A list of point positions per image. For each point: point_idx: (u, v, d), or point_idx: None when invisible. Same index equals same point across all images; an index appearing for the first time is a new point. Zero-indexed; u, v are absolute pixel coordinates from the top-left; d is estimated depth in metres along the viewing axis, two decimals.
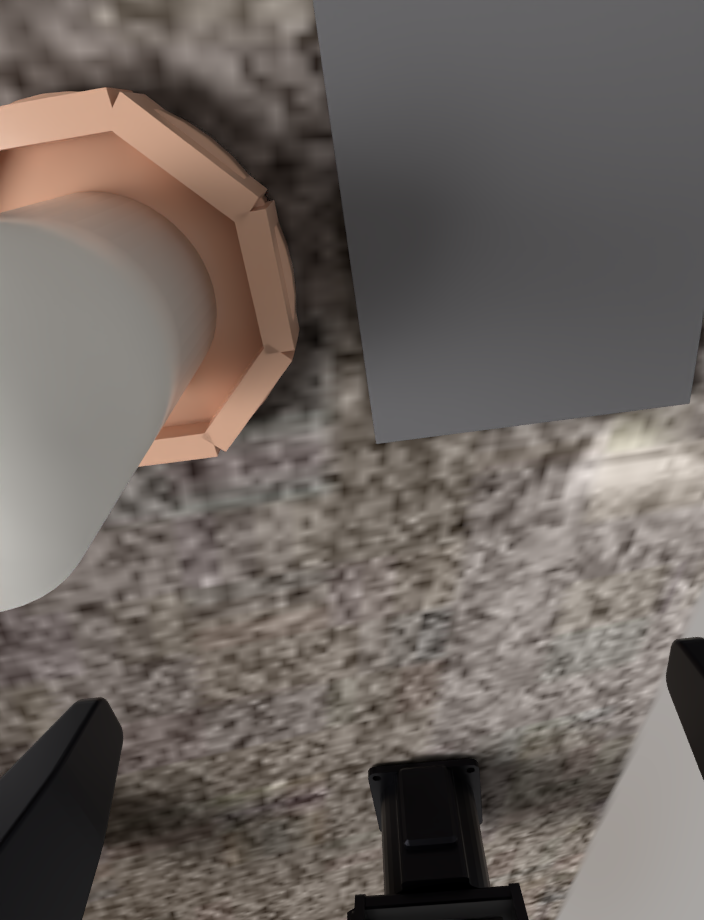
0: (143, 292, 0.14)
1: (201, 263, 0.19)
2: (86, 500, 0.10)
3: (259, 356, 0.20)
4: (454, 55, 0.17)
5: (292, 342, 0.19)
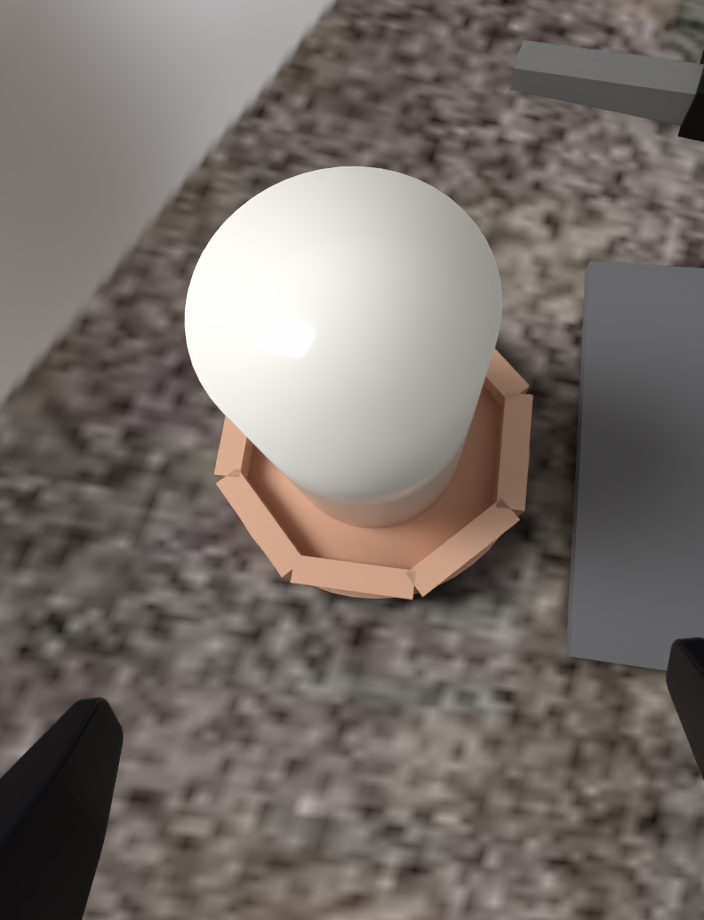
0: None
1: None
2: (482, 360, 0.12)
3: (490, 507, 0.21)
4: (684, 351, 0.23)
5: (524, 503, 0.21)
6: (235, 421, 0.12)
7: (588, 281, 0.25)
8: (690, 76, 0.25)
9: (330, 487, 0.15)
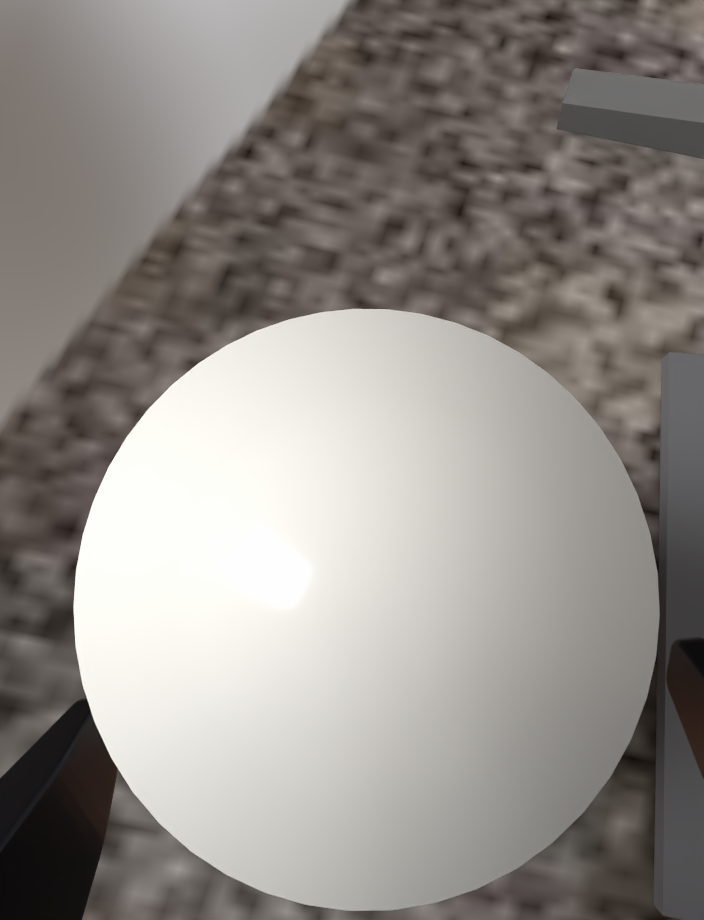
0: None
1: None
2: (626, 710, 0.06)
3: None
4: None
5: None
6: (155, 815, 0.06)
7: (668, 378, 0.19)
8: None
9: None
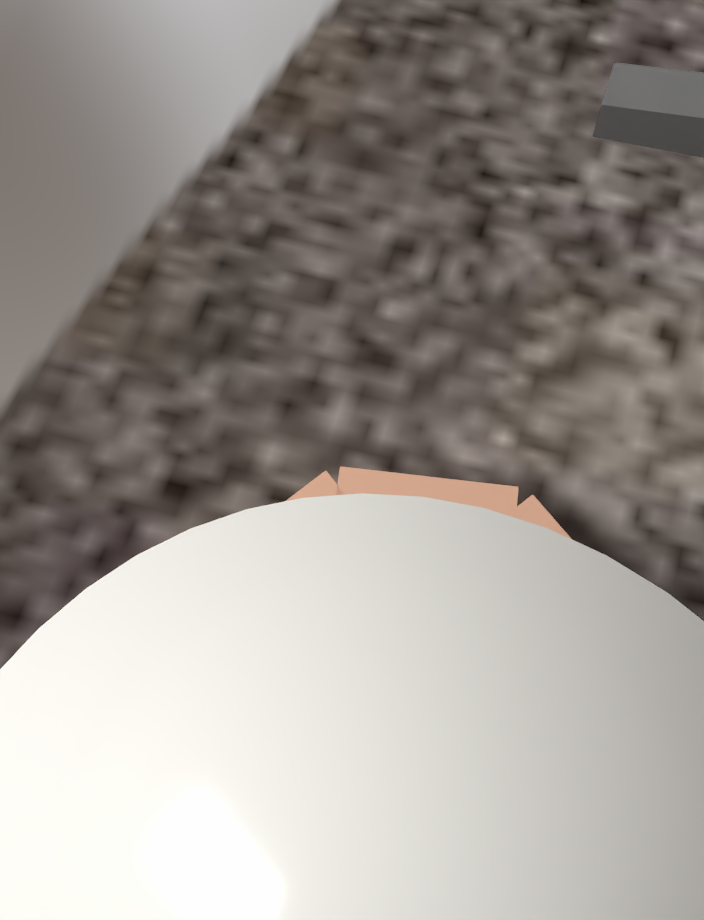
0: None
1: None
2: None
3: None
4: None
5: None
6: None
7: None
8: None
9: None
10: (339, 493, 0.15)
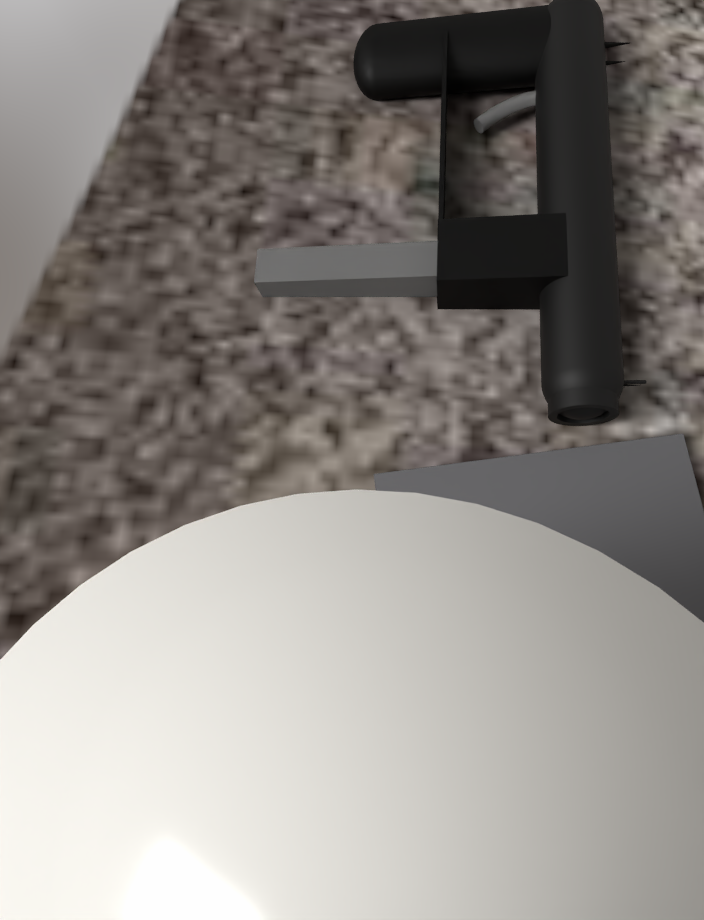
0: None
1: None
2: None
3: None
4: None
5: None
6: None
7: None
8: (427, 256, 0.24)
9: None
10: None
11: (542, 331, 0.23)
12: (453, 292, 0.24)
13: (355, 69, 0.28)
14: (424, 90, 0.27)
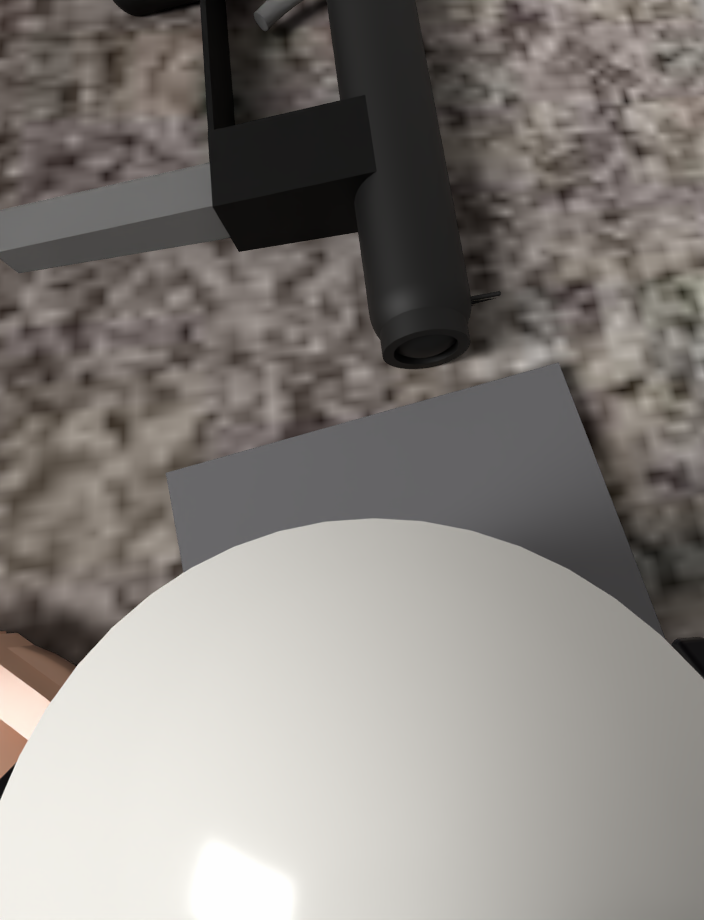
0: None
1: None
2: None
3: None
4: None
5: None
6: None
7: (172, 501, 0.17)
8: (205, 183, 0.19)
9: None
10: None
11: (361, 251, 0.18)
12: (244, 222, 0.18)
13: None
14: None
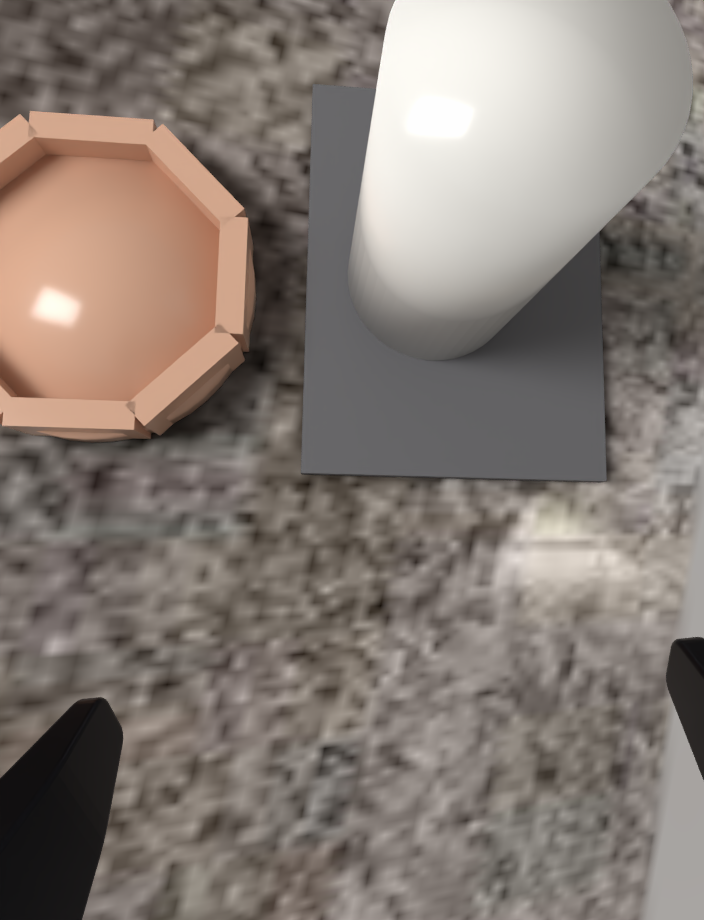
0: None
1: None
2: (653, 166, 0.12)
3: (208, 333, 0.21)
4: None
5: (242, 327, 0.21)
6: (414, 141, 0.12)
7: (312, 105, 0.24)
8: None
9: (437, 266, 0.15)
10: (30, 128, 0.21)
11: None
12: None
13: None
14: None
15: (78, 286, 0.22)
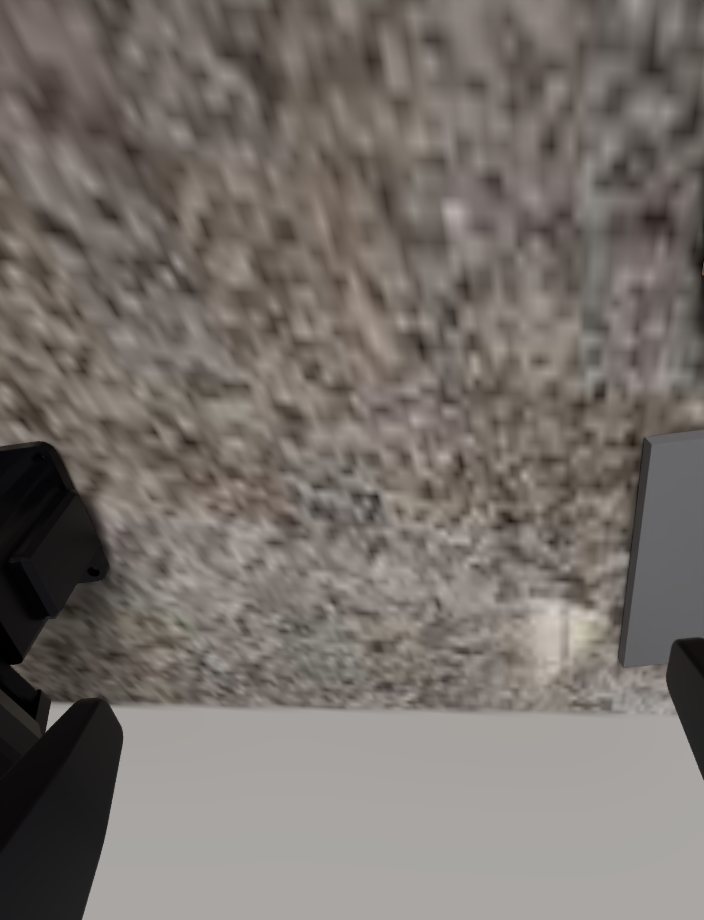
0: None
1: None
2: None
3: None
4: None
5: None
6: None
7: None
8: None
9: None
10: None
11: None
12: None
13: None
14: None
15: None
